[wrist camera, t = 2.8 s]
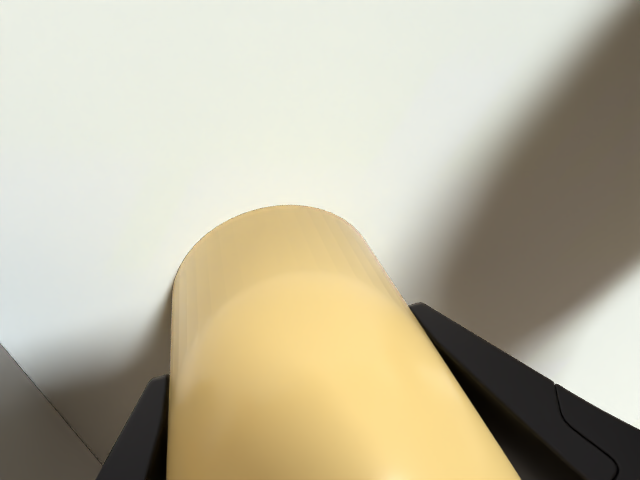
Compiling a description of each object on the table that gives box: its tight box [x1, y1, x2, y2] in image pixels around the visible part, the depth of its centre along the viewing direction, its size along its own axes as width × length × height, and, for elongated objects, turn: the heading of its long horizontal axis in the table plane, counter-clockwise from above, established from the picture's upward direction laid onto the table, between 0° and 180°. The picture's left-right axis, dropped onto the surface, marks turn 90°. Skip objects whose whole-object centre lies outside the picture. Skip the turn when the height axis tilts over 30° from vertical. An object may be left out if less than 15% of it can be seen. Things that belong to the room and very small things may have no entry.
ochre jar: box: [166, 205, 521, 480], centre depth 8 cm, size 6×6×8 cm
